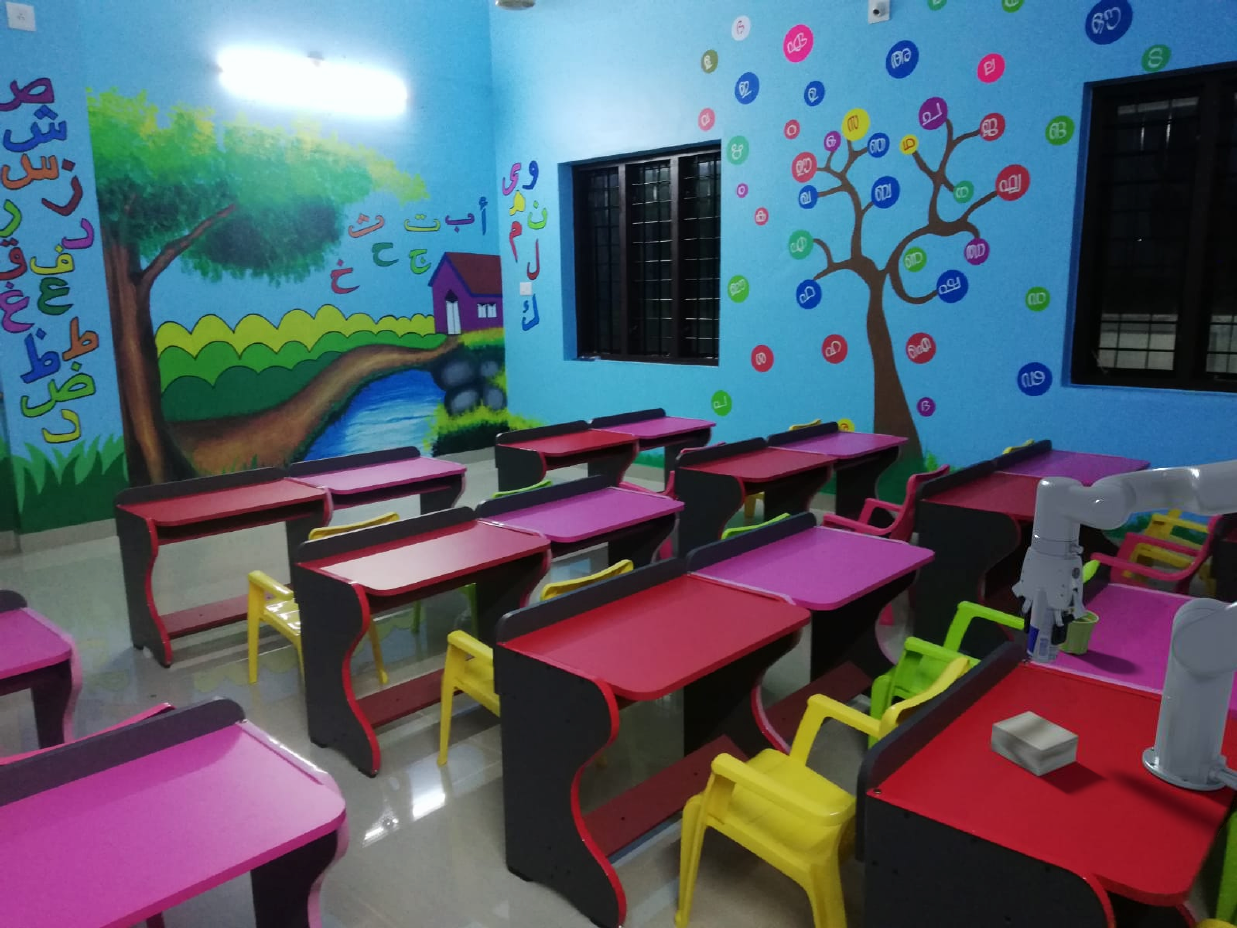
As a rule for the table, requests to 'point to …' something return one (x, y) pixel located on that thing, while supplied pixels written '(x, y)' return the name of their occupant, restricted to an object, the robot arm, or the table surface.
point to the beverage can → (1042, 630)
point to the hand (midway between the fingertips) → (1044, 636)
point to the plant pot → (1079, 634)
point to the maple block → (1034, 743)
